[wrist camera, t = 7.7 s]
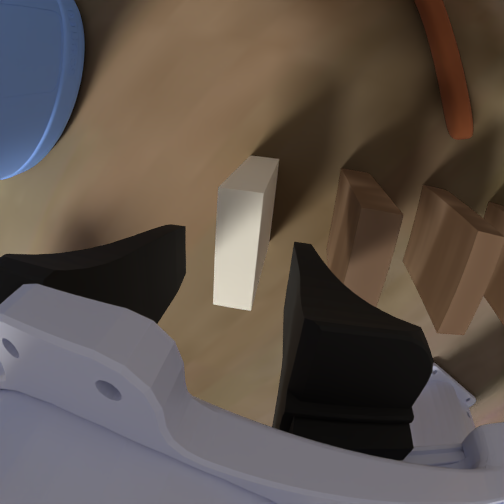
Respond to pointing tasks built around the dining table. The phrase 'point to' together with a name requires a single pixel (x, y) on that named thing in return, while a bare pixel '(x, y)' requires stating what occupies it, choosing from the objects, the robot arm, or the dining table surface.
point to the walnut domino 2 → (451, 258)
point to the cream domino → (243, 231)
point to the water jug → (37, 78)
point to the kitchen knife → (447, 68)
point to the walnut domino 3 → (500, 285)
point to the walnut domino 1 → (362, 234)
